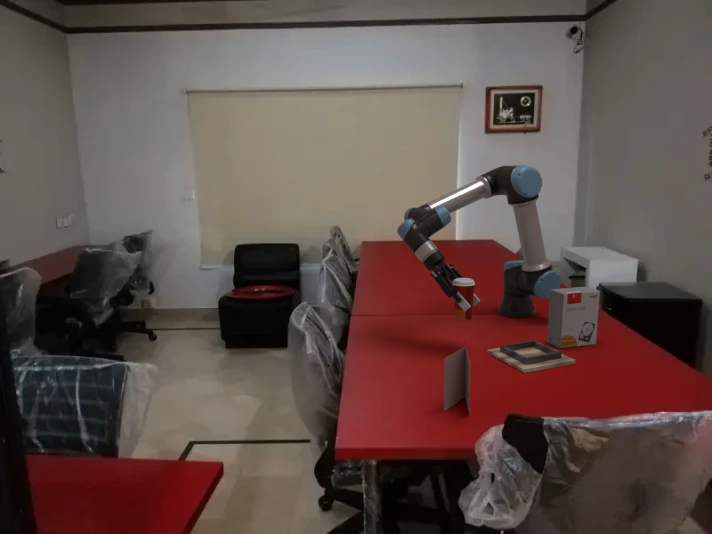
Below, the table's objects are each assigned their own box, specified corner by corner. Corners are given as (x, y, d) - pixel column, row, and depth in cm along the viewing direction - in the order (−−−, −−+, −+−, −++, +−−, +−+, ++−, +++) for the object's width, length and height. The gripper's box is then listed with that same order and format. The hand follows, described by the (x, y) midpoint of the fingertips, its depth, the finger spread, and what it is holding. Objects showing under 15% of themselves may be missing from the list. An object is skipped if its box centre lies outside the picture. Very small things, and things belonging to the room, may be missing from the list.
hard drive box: (559, 349, 194) (561, 293, 190) (546, 342, 201) (548, 289, 198) (597, 344, 198) (600, 290, 194) (583, 338, 205) (586, 285, 202)
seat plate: (487, 353, 192) (487, 344, 191) (534, 345, 199) (535, 336, 198) (524, 373, 174) (524, 363, 173) (575, 363, 181) (575, 354, 180)
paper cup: (471, 315, 198) (472, 277, 195) (476, 321, 190) (477, 282, 187) (449, 316, 197) (450, 277, 195) (454, 322, 190) (454, 282, 187)
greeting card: (461, 396, 158) (462, 346, 155) (485, 403, 153) (487, 351, 150) (441, 410, 149) (441, 357, 146) (465, 418, 145) (466, 363, 142)
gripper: (436, 258, 207) (476, 305, 201) (409, 268, 190) (452, 319, 185) (449, 245, 203) (491, 293, 197) (423, 254, 186) (468, 306, 181)
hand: (472, 306), depth 191 cm, fingers closed on paper cup, 8 cm apart
